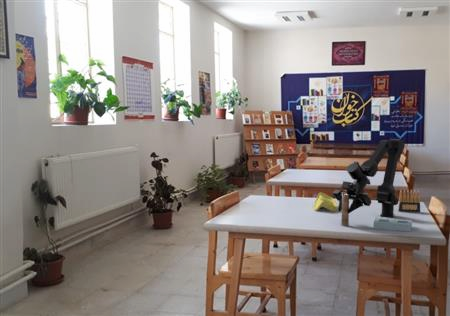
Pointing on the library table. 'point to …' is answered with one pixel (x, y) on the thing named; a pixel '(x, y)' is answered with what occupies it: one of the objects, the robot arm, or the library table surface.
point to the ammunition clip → (407, 205)
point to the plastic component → (325, 202)
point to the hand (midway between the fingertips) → (343, 211)
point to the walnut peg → (345, 210)
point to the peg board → (393, 224)
